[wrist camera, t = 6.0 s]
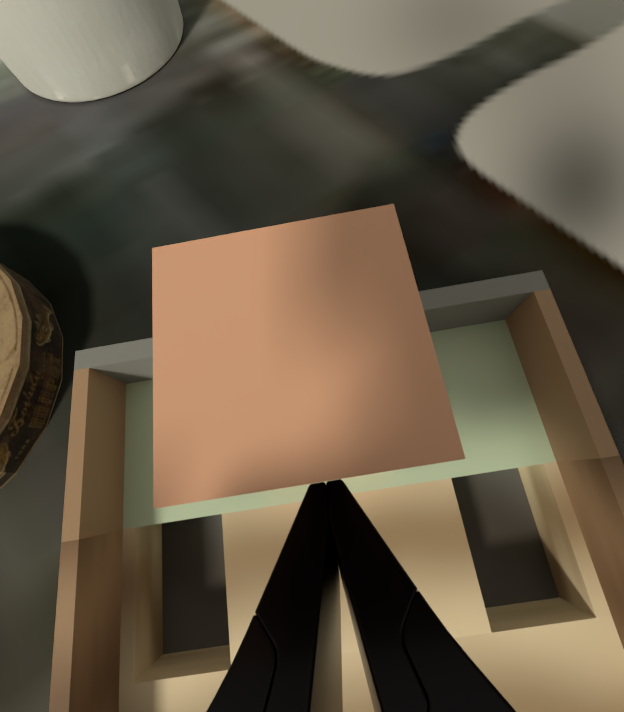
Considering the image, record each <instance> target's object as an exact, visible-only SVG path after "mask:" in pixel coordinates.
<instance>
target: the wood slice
mask: <svg viewBox="0 0 624 712" xmlns="http://www.w3.org/2000/svg"><path fill="white" fill-rule="evenodd" d="M62 374H63V336H62V333H61V330H60V327H59V325H58V322H57V319H56V316H55V313H54V311H53V308H52V305H51V303H50V302H49V301H48V300H47V299H46V298H45V297H44V296H43V295H42V294H41V293H40V292H39V291H38V290H37V289H36V288H35V287H34V286H33V284H32V283H31V282H30V281H29V280H27V279H26V278H24V277H22V276H21V275H19V274H18V273H16V272H14V271H13V270H11V269H10V268H8V267H6V266H5V265H3V264H2V263H0V489H1V488H2V487H3V486H4V485H5V484H6V483H7V482H8V481H9V480H10V479H11V478H12V477H14V476H15V475H16V474H17V473H18V471H19V470H20V468H21V466H22V465H23V463H24V462H25V460H26V459H27V457H28V455H29V454H30V452H31V451H32V449H33V448H34V446H35V444H36V443H37V441H38V440H39V438H40V437H41V435H42V434H43V432H44V430H45V429H46V427H47V425H48V422H49V419H50V416H51V413H52V410H53V407H54V404H55V401H56V398H57V395H58V392H59V388H60V385H61V382H62Z"/></svg>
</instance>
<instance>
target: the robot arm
mask: <svg viewBox="0 0 624 712" xmlns="http://www.w3.org/2000/svg"><path fill="white" fill-rule="evenodd" d="M339 570H340V574H339ZM340 575H341V579H342V584H343V588H344V592H345V596H346V600H347V604H348V608H349V612H350V616H351V620H352V624H353V628H354V632H355V636H356V640H357V644H358V648H359V652H360V656H361V660H362V664H363V668H364V672H365V676H366V680H367V684H368V688H369V692H370V696H371V700H372V704H373V708H374V712H516V711H515V709H514V708H513V707H512V706H511V705H510V704H509V702H508V701H507V700H506V699H505V698H504V697H503V696H502V694H501V693H500V692H499V691H498V690H497V689H496V687H495V686H494V685H493V684H492V683H491V682H490V680H489V679H488V678H487V677H486V676H485V675H484V673H483V672H482V671H481V670H480V669H479V668H478V667H477V665H476V664H475V663H474V662H473V661H472V660H471V658H470V657H469V656H468V655H467V654H466V652H465V651H464V650H463V649H462V647H461V646H460V645H459V644H458V643H457V641H456V640H455V639H454V638H453V636H452V635H451V634H450V633H449V632H448V630H447V629H446V628H445V626H444V625H443V623H442V622H441V621H440V619H439V618H438V617H437V615H436V614H435V613H434V611H433V610H432V608H431V607H430V606H429V604H428V603H427V601H426V600H425V598H424V597H423V596H422V594H421V593H420V592H419V591H417V587H416V586H415V584H414V583H413V581H412V580H411V578H410V577H409V576H408V574H407V573H406V571H405V570H404V568H403V567H402V565H401V564H400V563H399V561H398V560H397V558H396V557H395V555H394V554H393V552H392V551H391V550H390V548H389V547H388V545H387V544H386V542H385V541H384V539H383V538H382V537H381V535H380V534H379V532H378V531H377V529H376V528H375V526H374V525H373V524H372V522H371V521H370V519H369V518H368V516H367V515H366V513H365V512H364V510H363V509H362V508H361V506H360V505H359V503H358V502H357V500H356V499H355V497H354V496H353V495H352V493H351V492H350V490H349V489H348V487H347V486H346V484H345V483H344V482H343V481H342V480H341V479H339V480H332V481H328V482H327V483H325V482H320V483H313V484H310V485H309V487H308V489H307V491H306V494H305V496H304V498H303V501H302V503H301V505H300V508H299V510H298V512H297V515H296V517H295V519H294V522H293V524H292V526H291V529H290V531H289V533H288V536H287V538H286V541H285V543H284V545H283V548H282V550H281V552H280V555H279V557H278V559H277V562H276V564H275V566H274V569H273V571H272V573H271V576H270V578H269V580H268V583H267V585H266V587H265V590H264V592H263V594H262V597H261V599H260V601H259V604H258V606H257V608H256V611H255V614H256V615H254V616H253V617H252V620H251V622H250V624H249V627H248V629H247V631H246V634H245V636H244V638H243V640H242V642H241V645H240V647H239V649H238V651H237V653H236V656H235V658H234V660H233V662H232V664H231V666H230V668H229V670H228V672H227V674H226V676H225V678H224V679H223V681H222V683H221V685H220V687H219V689H218V691H217V693H216V695H215V697H214V698H213V700H212V702H211V704H210V706H209V708H208V709H207V711H206V712H343V698H342V650H341V603H340Z"/></svg>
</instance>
